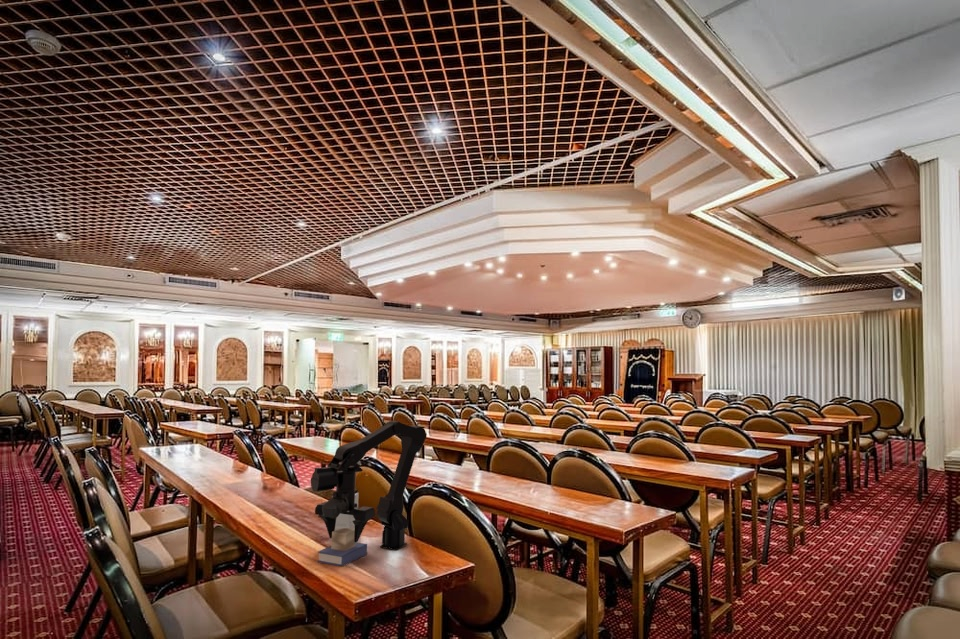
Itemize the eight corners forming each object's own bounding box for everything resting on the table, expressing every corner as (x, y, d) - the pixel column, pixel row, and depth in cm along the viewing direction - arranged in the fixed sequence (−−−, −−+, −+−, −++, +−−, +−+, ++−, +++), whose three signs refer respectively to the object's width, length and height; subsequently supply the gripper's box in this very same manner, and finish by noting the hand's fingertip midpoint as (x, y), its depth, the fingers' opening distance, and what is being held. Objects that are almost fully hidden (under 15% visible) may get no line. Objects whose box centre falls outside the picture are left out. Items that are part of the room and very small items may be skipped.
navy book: (366, 554, 160) (367, 544, 160) (342, 566, 149) (342, 555, 149) (343, 550, 163) (343, 540, 164) (317, 562, 152) (318, 551, 153)
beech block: (355, 546, 158) (355, 529, 158) (344, 551, 153) (345, 533, 154) (341, 544, 160) (342, 527, 160) (331, 548, 155) (332, 531, 156)
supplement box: (348, 533, 181) (350, 496, 182) (329, 532, 182) (331, 495, 184) (357, 528, 188) (359, 492, 189) (339, 526, 189) (340, 491, 191)
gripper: (303, 489, 155) (300, 543, 153) (354, 495, 148) (352, 552, 146) (328, 483, 165) (325, 533, 163) (377, 488, 158) (375, 541, 156)
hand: (343, 540), depth 157 cm, fingers open, 9 cm apart
